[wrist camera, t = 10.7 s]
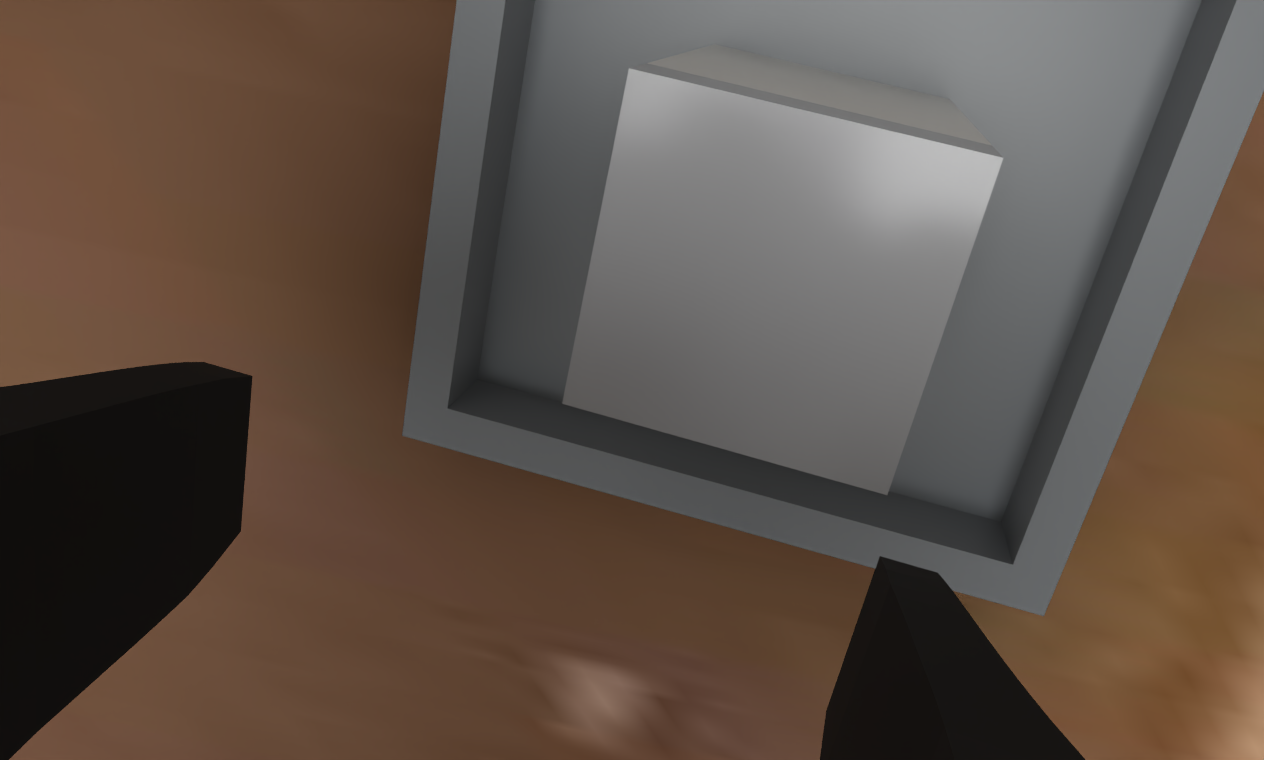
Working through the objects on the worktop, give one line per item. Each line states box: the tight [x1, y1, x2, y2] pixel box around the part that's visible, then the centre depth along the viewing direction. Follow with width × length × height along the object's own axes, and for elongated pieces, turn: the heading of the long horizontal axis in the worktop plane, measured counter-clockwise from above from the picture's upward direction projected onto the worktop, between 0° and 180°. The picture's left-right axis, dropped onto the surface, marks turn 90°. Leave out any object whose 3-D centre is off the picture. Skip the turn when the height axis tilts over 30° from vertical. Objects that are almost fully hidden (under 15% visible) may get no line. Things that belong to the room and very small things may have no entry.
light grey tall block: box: [562, 44, 1003, 495], centre depth 15 cm, size 4×4×7 cm
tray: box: [402, 0, 1264, 616], centre depth 17 cm, size 12×12×2 cm
